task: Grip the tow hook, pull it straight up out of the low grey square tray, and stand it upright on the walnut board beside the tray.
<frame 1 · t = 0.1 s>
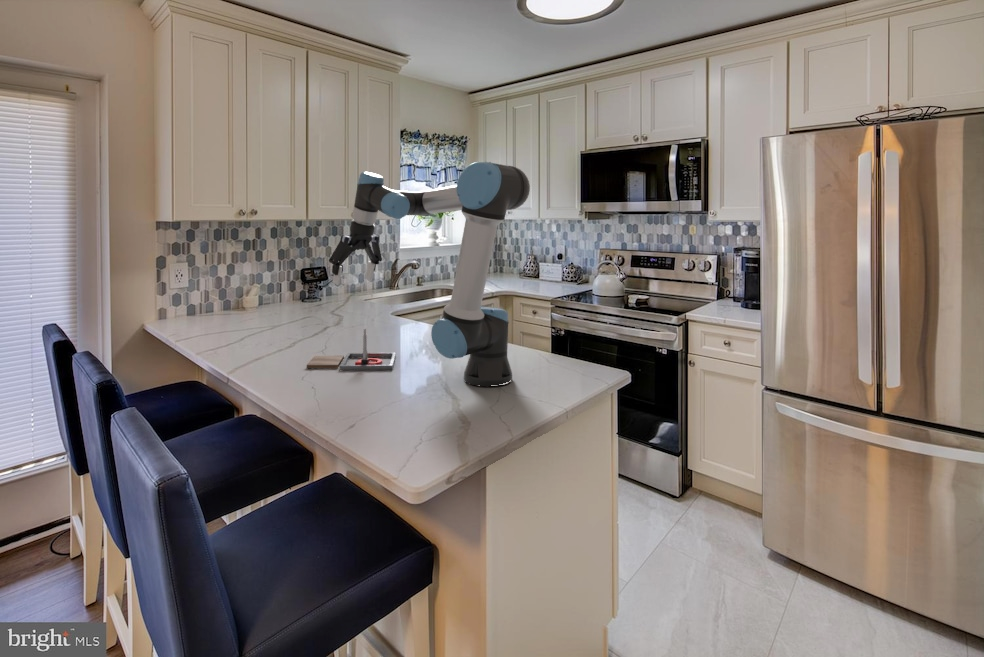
hand: (352, 281, 176), 28 cm above the countertop, tool tilted 20°, fingers open, 13 cm apart
walnut board: (326, 363, 178), on the countertop
grey square tray: (369, 363, 179), on the countertop
tow hook: (369, 364, 179), on the countertop
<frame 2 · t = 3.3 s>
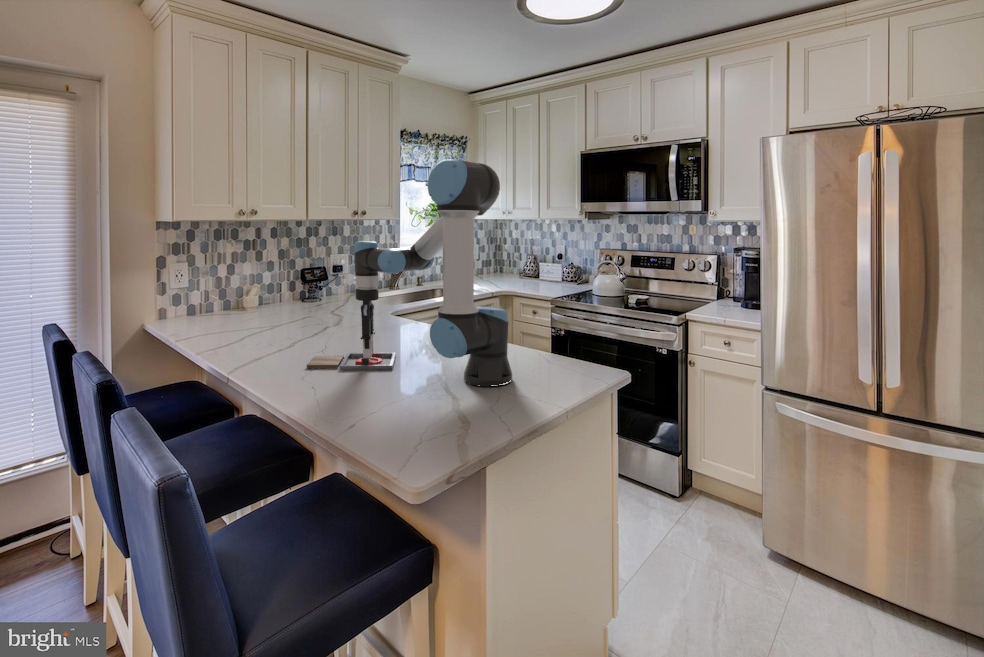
hand: (368, 355, 178), 3 cm above the countertop, tool pointing down, fingers open, 5 cm apart
tow hook: (369, 363, 181), on the countertop, touching gripper
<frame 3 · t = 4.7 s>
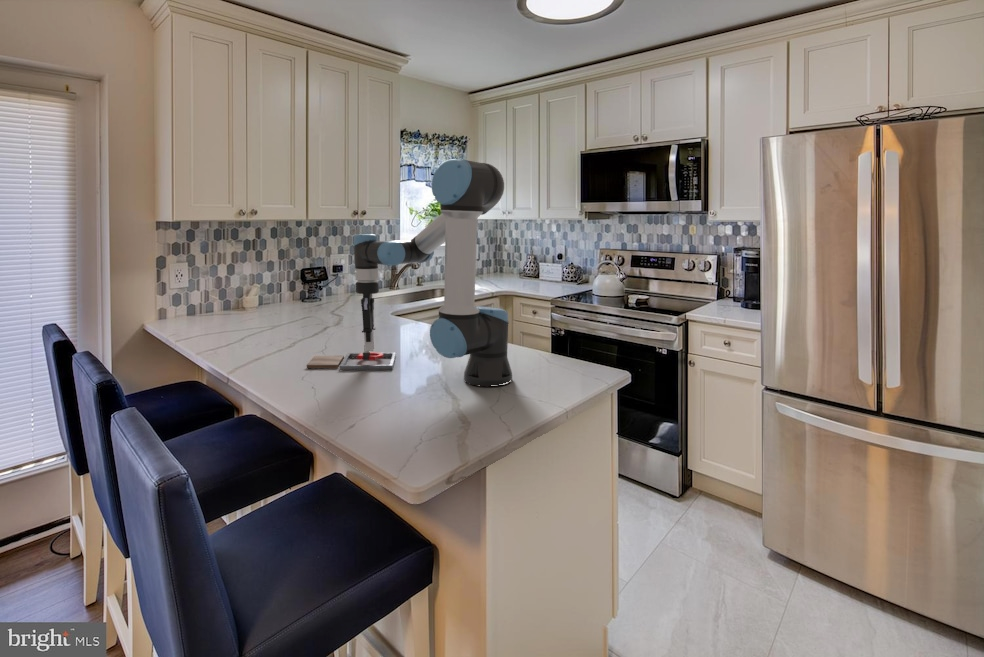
hand: (369, 349, 178), 5 cm above the countertop, tool pointing down, fingers closed on tow hook, 2 cm apart
tow hook: (370, 358, 182), point 1 cm above the countertop, touching gripper, grey square tray
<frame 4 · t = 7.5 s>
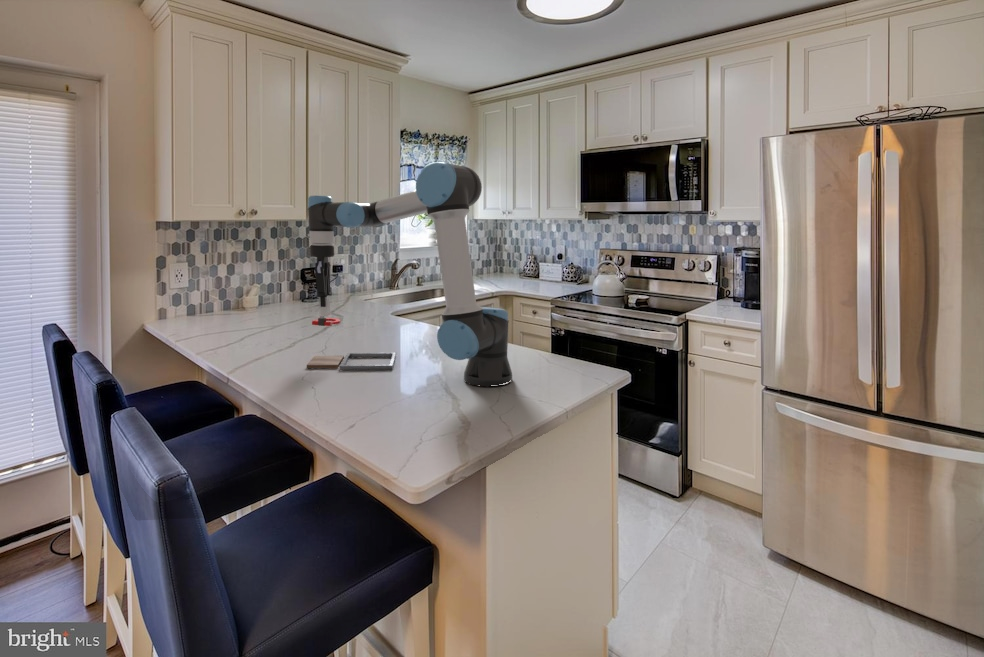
hand: (324, 315, 174), 17 cm above the countertop, tool pointing down, fingers closed on tow hook, 2 cm apart
tow hook: (327, 323, 179), point 13 cm above the countertop, touching gripper
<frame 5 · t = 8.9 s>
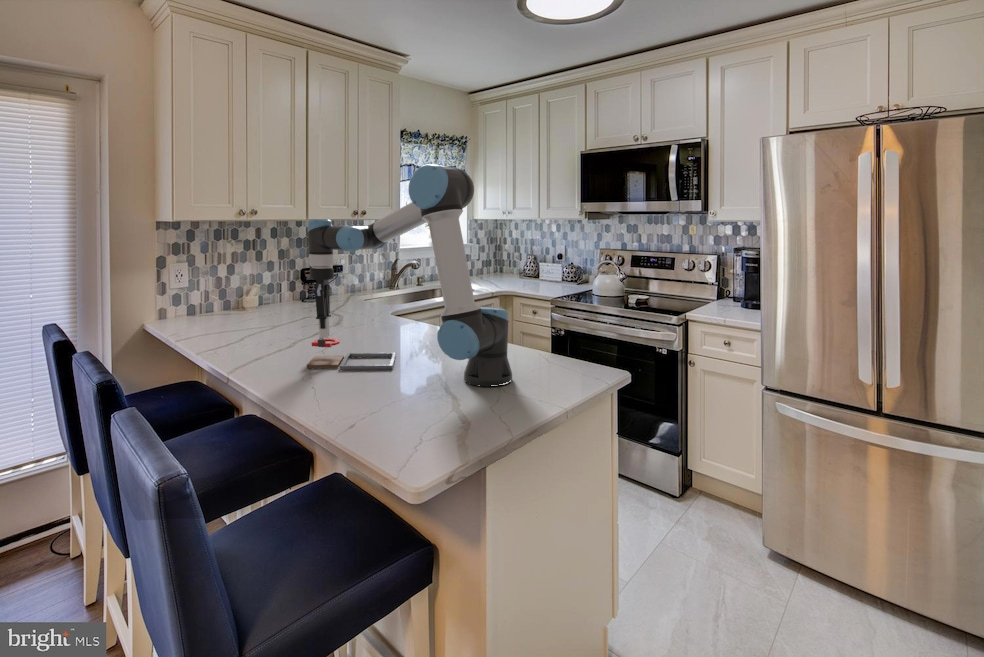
hand: (324, 336, 176), 9 cm above the countertop, tool pointing down, fingers closed on tow hook, 2 cm apart
tow hook: (326, 344, 180), point 6 cm above the countertop, touching gripper
when the fingers open (5 cm above the countertop, at t = 10.2 s): tow hook stays where it is, resting on walnut board.
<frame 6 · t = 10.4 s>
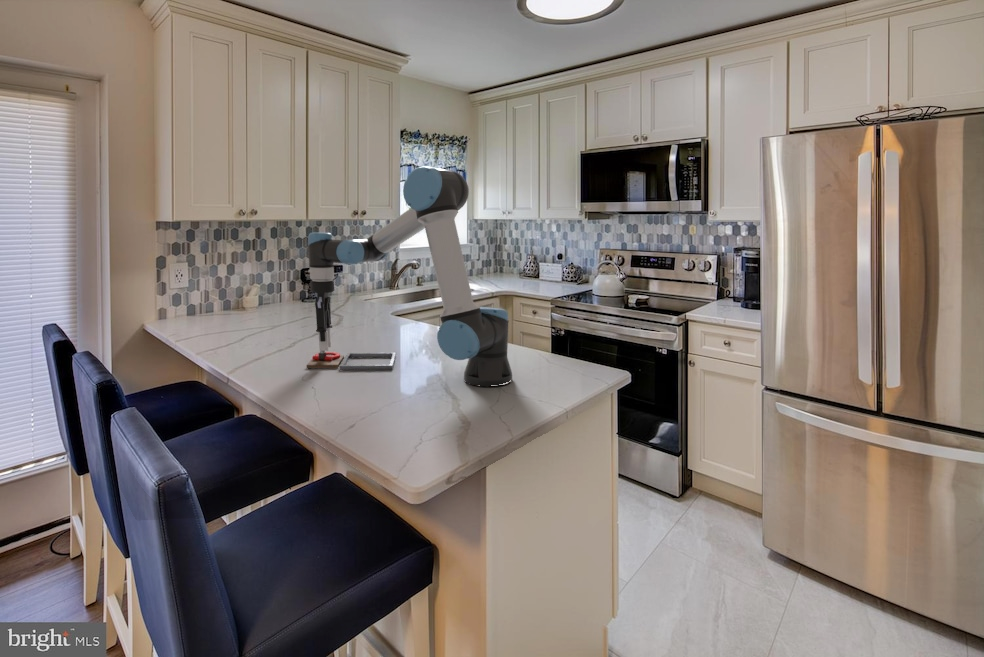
hand: (325, 348, 177), 5 cm above the countertop, tool pointing down, fingers open, 4 cm apart
tow hook: (327, 358, 181), point 1 cm above the countertop, touching walnut board
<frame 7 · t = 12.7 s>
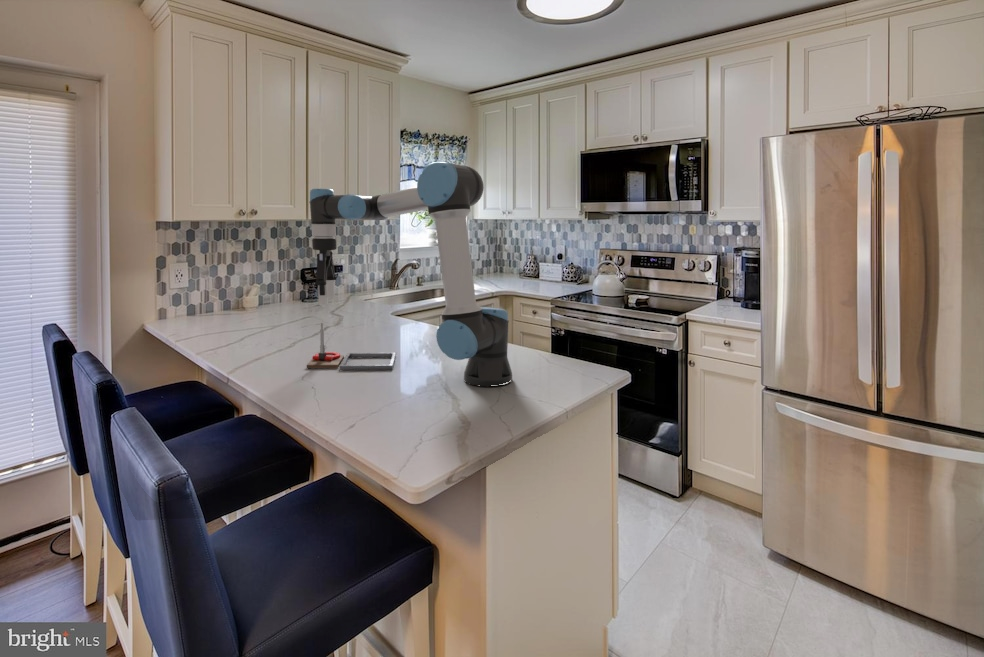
hand: (327, 302, 174), 21 cm above the countertop, tool pointing down, fingers open, 13 cm apart
nothing on the countertop moved.
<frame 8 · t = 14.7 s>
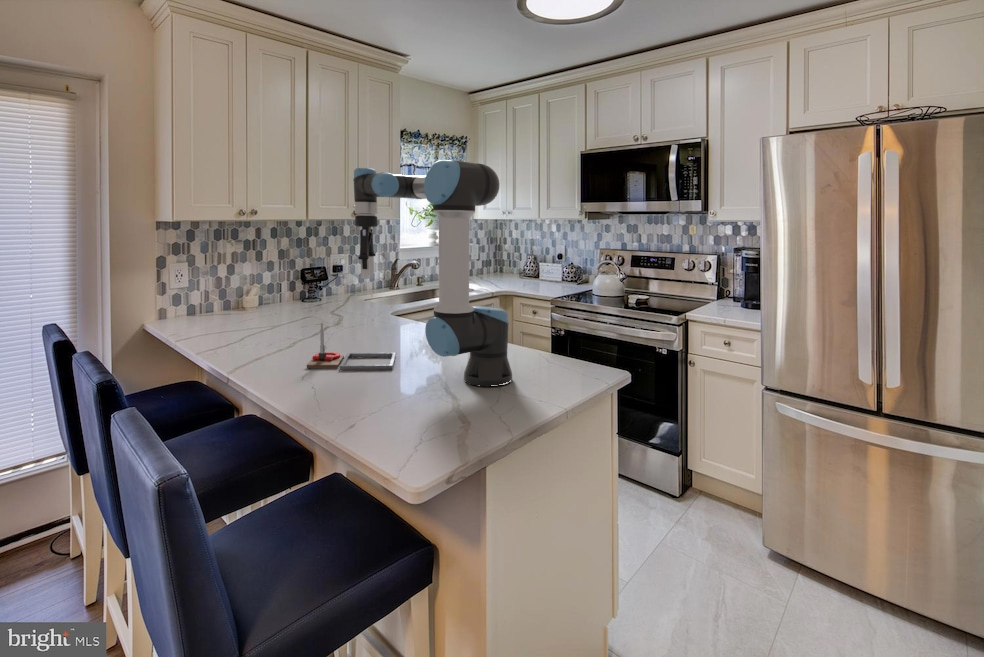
hand: (367, 276, 184), 29 cm above the countertop, tool pointing down, fingers open, 13 cm apart
nothing on the countertop moved.
at the end: tow hook inside the target area on the walnut board (3.5 cm from its centre), point 1.0 cm above the walnut board's base; tow hook tilted 0°; the gripper is holding nothing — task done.
